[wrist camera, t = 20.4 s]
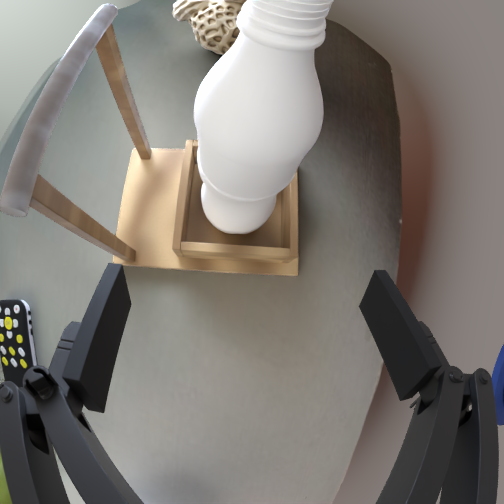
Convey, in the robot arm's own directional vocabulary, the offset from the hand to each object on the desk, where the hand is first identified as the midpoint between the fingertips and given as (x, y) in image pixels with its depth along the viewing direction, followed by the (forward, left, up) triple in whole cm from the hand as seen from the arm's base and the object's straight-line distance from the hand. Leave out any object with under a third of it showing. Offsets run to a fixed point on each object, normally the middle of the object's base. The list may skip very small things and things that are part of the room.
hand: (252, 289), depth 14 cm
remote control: (+27, +9, -16) cm, 33 cm away
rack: (+3, -10, -16) cm, 19 cm away
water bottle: (0, -9, -15) cm, 18 cm away
